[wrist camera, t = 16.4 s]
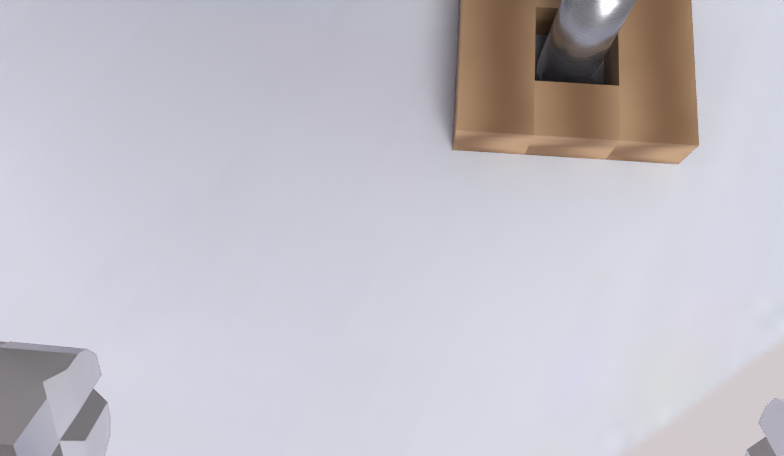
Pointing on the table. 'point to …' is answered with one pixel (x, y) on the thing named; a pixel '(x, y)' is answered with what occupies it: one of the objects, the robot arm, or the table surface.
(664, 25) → the hole plate
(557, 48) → the pin
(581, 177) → the table surface
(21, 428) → the robot arm
